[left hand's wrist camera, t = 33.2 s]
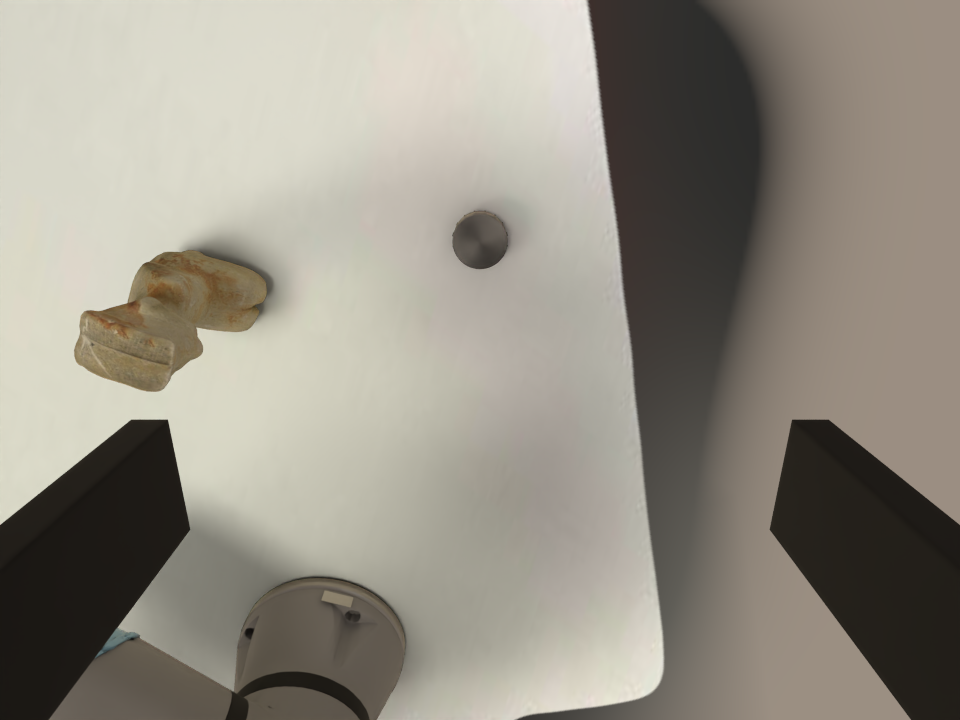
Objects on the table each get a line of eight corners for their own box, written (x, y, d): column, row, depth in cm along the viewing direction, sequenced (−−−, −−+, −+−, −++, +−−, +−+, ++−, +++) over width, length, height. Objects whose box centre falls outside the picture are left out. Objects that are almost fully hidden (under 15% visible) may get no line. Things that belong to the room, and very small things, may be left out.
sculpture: (253, 337, 46) (153, 425, 32) (163, 295, 45) (17, 366, 31) (281, 271, 44) (187, 333, 30) (187, 225, 43) (44, 267, 29)
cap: (480, 275, 44) (480, 280, 43) (442, 238, 43) (440, 242, 42) (517, 237, 43) (519, 241, 42) (479, 198, 42) (479, 201, 41)
